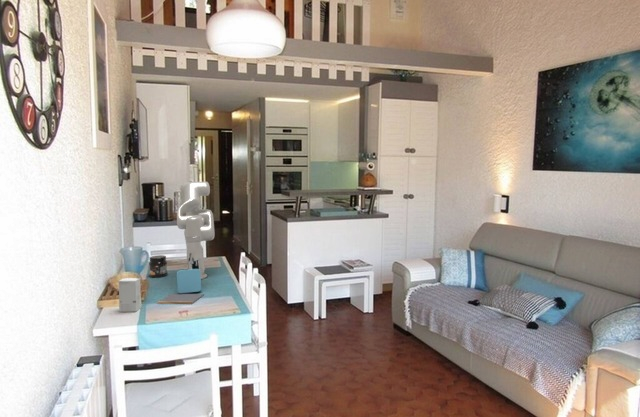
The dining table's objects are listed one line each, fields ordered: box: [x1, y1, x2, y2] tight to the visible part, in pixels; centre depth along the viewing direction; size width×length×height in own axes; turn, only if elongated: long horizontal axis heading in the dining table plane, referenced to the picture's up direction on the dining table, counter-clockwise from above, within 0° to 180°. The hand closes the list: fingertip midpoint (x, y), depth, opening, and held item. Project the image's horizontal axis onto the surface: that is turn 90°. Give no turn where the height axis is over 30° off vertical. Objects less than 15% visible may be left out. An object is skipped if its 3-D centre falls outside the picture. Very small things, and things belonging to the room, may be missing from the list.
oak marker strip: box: [156, 300, 194, 305], centre depth 220 cm, size 1×18×1 cm, turn 83°
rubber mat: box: [159, 293, 205, 304], centre depth 227 cm, size 14×18×1 cm
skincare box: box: [118, 277, 142, 313], centre depth 211 cm, size 8×6×15 cm
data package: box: [176, 269, 202, 294], centre depth 238 cm, size 12×4×12 cm, turn 109°
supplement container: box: [148, 254, 169, 279], centre depth 278 cm, size 10×10×12 cm
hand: (195, 272), depth 245 cm, fingers closed
